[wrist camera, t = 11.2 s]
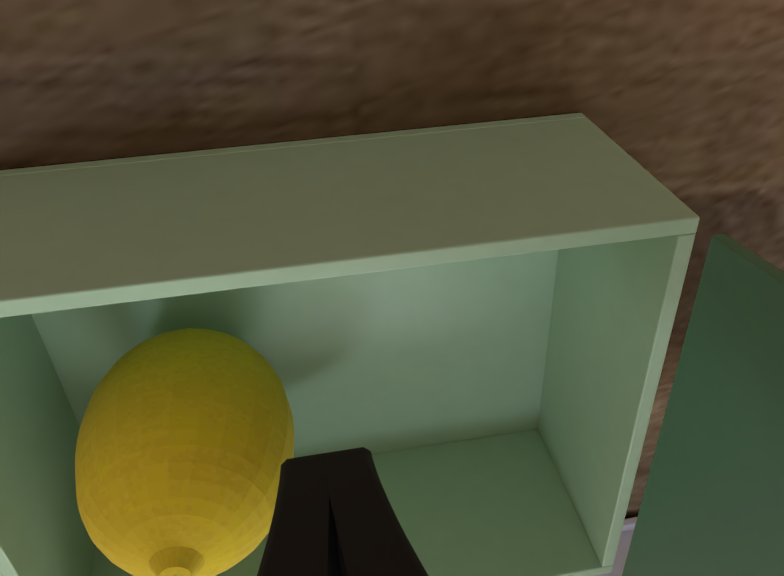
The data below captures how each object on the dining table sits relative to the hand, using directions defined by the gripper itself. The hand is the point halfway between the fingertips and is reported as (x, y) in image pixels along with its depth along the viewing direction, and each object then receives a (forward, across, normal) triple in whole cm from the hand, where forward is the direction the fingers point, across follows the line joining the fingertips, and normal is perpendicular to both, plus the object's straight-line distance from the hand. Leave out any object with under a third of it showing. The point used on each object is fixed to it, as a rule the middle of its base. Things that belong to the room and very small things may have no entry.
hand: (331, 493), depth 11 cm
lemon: (+10, +4, +4) cm, 12 cm away
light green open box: (+10, 0, +4) cm, 11 cm away
